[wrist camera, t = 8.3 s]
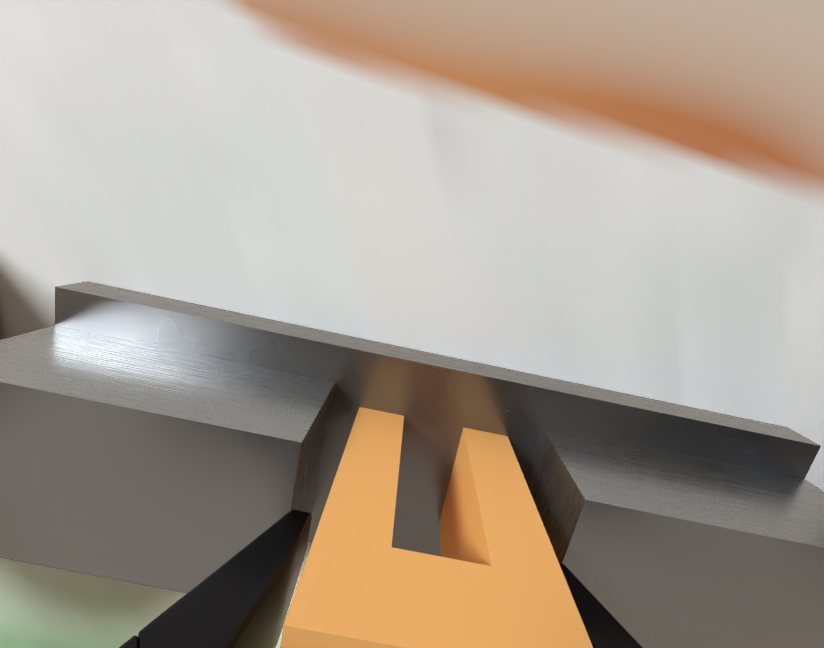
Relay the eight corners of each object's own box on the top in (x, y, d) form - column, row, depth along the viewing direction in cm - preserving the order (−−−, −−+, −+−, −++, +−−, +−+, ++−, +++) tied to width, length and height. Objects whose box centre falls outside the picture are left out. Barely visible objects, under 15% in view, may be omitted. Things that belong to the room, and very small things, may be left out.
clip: (507, 436, 11) (607, 684, 5) (480, 530, 11) (540, 845, 6) (359, 407, 11) (283, 626, 5) (341, 503, 11) (256, 795, 6)
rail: (787, 427, 12) (971, 529, 8) (708, 594, 13) (829, 751, 9) (87, 281, 11) (-93, 312, 7) (84, 471, 12) (-69, 582, 9)
